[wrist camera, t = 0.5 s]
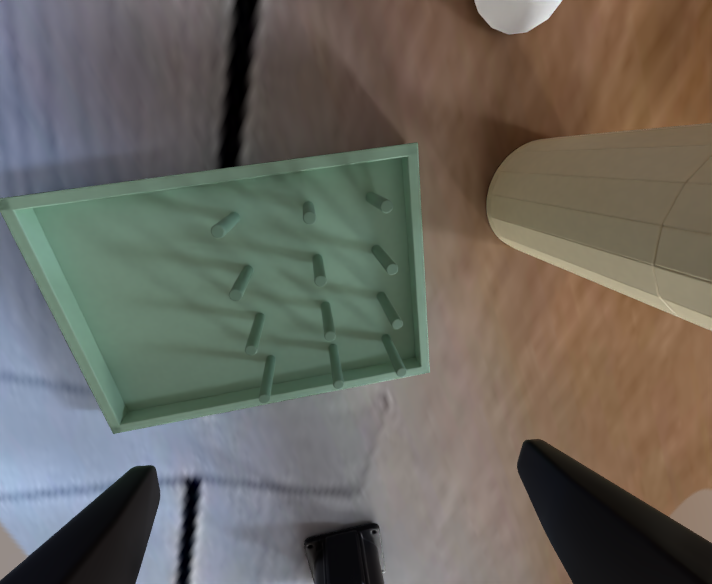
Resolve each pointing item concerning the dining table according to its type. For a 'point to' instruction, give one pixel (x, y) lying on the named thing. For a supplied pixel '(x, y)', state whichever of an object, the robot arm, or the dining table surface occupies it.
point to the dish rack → (234, 282)
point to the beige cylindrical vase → (616, 212)
